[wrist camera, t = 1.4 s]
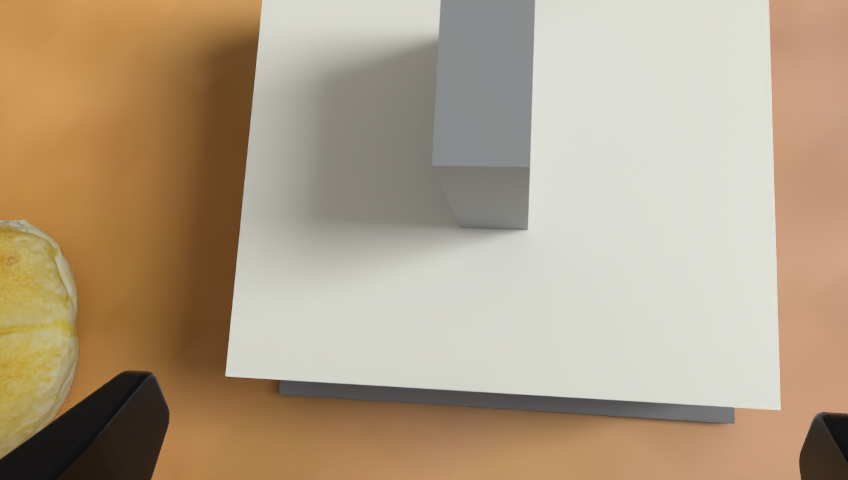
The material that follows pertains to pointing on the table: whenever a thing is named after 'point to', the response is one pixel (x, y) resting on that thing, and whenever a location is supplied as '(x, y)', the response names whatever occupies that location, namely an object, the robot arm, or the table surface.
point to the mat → (510, 401)
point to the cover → (512, 199)
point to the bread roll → (34, 331)
